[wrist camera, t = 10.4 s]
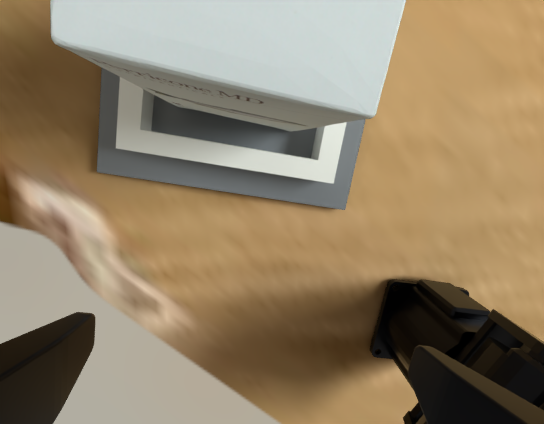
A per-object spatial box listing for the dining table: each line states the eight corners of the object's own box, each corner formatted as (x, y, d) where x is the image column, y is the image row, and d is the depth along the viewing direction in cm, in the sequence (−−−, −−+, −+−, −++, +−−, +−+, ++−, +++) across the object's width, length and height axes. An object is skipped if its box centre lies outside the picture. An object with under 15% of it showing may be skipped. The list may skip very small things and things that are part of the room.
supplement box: (174, 108, 18) (27, 41, 6) (194, -30, 17) (51, -508, 4) (293, 136, 19) (379, 127, 7) (322, 7, 18) (498, -297, 5)
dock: (341, 207, 21) (355, 217, 19) (102, 170, 19) (79, 175, 17) (399, -54, 18) (427, -88, 15) (118, -130, 16) (91, -185, 13)
